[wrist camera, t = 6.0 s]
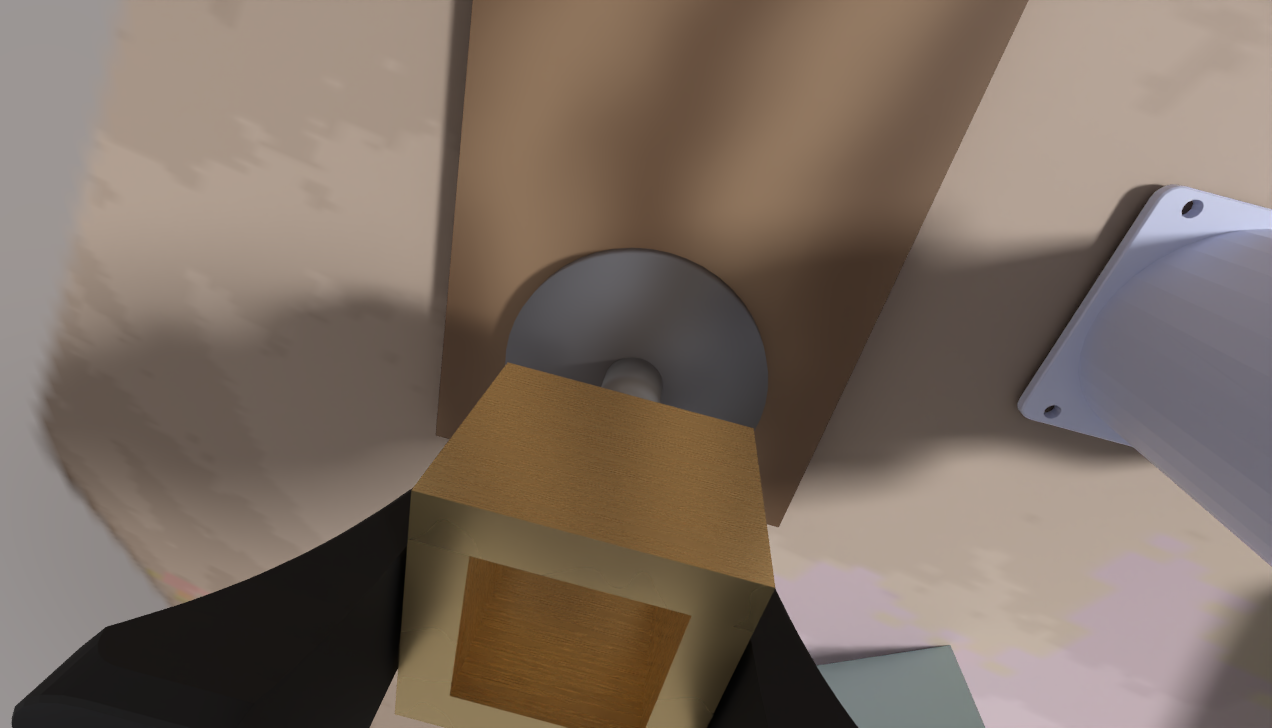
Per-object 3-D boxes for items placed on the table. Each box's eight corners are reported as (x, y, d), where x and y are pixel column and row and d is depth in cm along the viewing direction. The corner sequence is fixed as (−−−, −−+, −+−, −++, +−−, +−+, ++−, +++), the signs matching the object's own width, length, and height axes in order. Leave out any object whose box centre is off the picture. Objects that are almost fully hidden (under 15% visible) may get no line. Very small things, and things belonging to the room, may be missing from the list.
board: (1298, -619, 10) (1768, -1183, 6) (776, 510, 23) (792, 616, 19) (562, -815, 10) (443, -1532, 6) (446, 421, 23) (379, 505, 19)
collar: (753, 428, 12) (775, 588, 8) (684, 601, 15) (676, 789, 11) (507, 362, 12) (411, 490, 8) (479, 546, 15) (394, 713, 11)
